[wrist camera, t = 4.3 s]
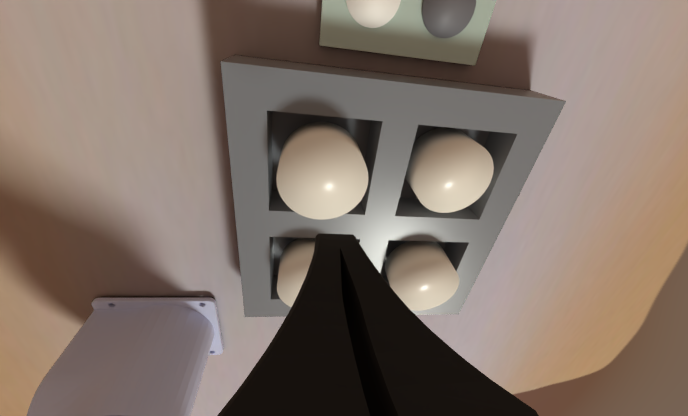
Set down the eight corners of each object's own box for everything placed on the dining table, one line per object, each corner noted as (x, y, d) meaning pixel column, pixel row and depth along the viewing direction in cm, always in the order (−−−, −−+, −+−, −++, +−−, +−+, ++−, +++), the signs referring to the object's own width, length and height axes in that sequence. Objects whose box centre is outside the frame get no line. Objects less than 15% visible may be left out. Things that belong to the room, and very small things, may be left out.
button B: (280, 194, 18) (276, 217, 16) (280, 118, 16) (276, 133, 14) (354, 198, 19) (361, 221, 17) (366, 125, 16) (375, 141, 14)
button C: (379, 284, 24) (387, 310, 22) (391, 238, 21) (401, 262, 19) (434, 284, 24) (447, 310, 22) (452, 240, 22) (469, 264, 20)
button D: (279, 283, 22) (276, 311, 20) (280, 234, 20) (276, 260, 18) (341, 284, 23) (344, 311, 21) (348, 236, 21) (353, 262, 19)
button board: (251, 287, 25) (244, 316, 23) (234, 55, 16) (220, 61, 13) (444, 287, 28) (458, 314, 25) (530, 90, 18) (566, 101, 16)
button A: (396, 191, 21) (407, 211, 18) (413, 123, 18) (427, 137, 16) (459, 194, 21) (476, 214, 19) (483, 130, 19) (506, 144, 17)
